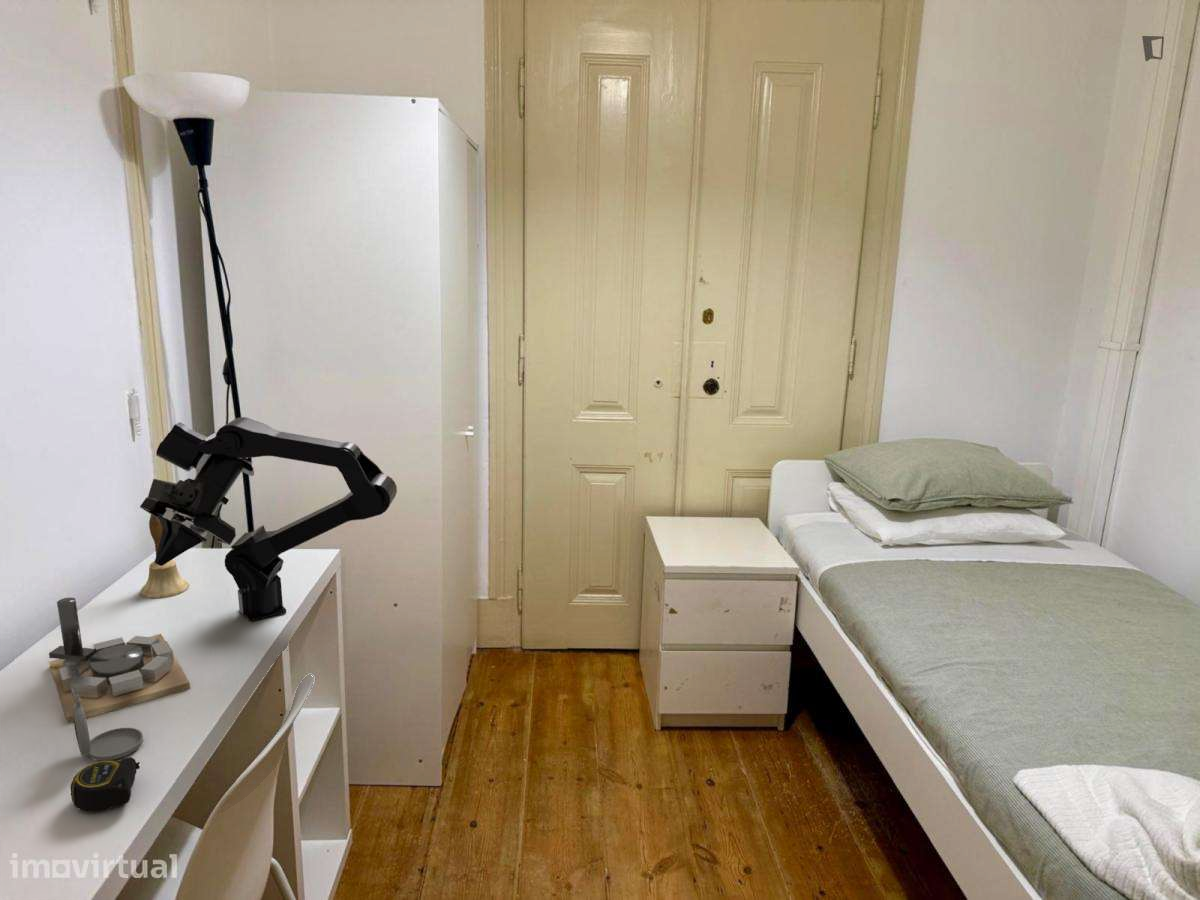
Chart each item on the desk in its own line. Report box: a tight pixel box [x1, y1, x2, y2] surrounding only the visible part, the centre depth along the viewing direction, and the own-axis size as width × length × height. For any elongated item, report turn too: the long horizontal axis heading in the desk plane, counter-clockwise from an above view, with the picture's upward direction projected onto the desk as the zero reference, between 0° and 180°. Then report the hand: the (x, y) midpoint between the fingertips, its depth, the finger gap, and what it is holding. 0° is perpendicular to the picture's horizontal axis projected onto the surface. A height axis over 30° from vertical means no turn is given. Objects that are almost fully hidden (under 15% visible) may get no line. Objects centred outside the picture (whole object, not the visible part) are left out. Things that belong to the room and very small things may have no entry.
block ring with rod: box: [48, 597, 174, 698], centre depth 130 cm, size 15×18×11 cm
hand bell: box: [140, 514, 190, 599], centre depth 160 cm, size 8×8×16 cm
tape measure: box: [70, 756, 141, 813], centre depth 104 cm, size 7×7×4 cm
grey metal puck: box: [90, 644, 144, 685], centre depth 131 cm, size 7×7×3 cm
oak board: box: [49, 633, 191, 724], centre depth 132 cm, size 16×19×1 cm
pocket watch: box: [72, 689, 144, 761], centre depth 113 cm, size 8×8×10 cm
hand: (157, 564), depth 140 cm, fingers closed
